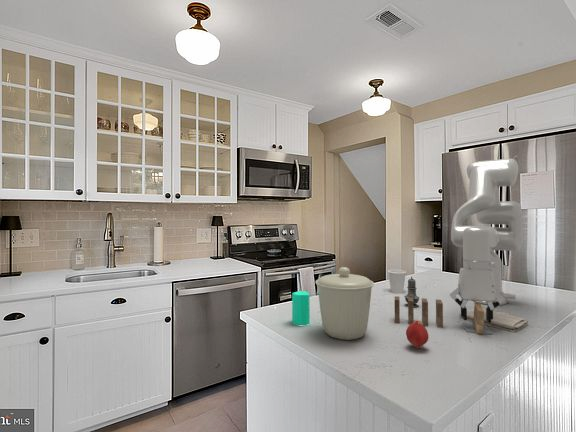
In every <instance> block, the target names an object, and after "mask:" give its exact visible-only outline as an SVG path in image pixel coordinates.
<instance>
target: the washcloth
mask: <svg viewBox="0 0 576 432" xmlns="http://www.w3.org/2000/svg"><path fill="white" fill-rule="evenodd" d="M483 310H484V322H483V325H486V326H487V327H488V326H489V327H492V328H495V329H500V330H503V331H507V332H511V333H515V332H518V331H521V330H522V329H523V328H526V327H527V326H528V324H529V323H528V320H525V318H523V317H518V316H516V315H515V316H514V315H512V314H510V313H507V312H499V311H496V310H493V320H492V319H491V323H489V322H488V321H487V320H486V308H483ZM458 317H459V319H460V320H464V319H463V317H461V313H460V314H459V316H458ZM467 320H468V321H469V322H471V323H473V322H474V307H472V308H470V309H469V310H467ZM467 320H466V321H467Z"/></svg>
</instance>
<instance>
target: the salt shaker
mask: <svg viewBox="0 0 576 432" xmlns="http://www.w3.org/2000/svg"><path fill="white" fill-rule="evenodd" d="M416 282H417V281H416V280H415V279H414V278H413V276H411V277H410V278H409V279H408V280H407V294H406V295H404V296H403V297H404V300H405V302H406V303H405V304H404V306H405V307H406V308H408V297H411V298H413V307H414V308H416V309H417V308H419V305H418V303H419V301H420V296H417V292H416V291H417V286H416V285H417V284H416Z"/></svg>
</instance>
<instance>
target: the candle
mask: <svg viewBox="0 0 576 432" xmlns="http://www.w3.org/2000/svg"><path fill="white" fill-rule="evenodd" d="M291 297H292V298H291V302H292V303H291V304H292V306H291V310H292V311H291V312H292V313H291V314H292V315H291V317H292V318H291V319H292V321H291V322H292V325H293V324H295V325H294V326H296V325H306V326H308V325H307V324H309V325H310V323H311V316H310V315H311V313H310V311H311V310H310V293H309V292H308V291H305V290H303V291H302V290H299V291H295V292H292V293H291Z"/></svg>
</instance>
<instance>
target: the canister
mask: <svg viewBox="0 0 576 432" xmlns="http://www.w3.org/2000/svg"><path fill="white" fill-rule="evenodd" d="M315 284H316V286H317V294H318V300H319V302H318V303H319V309H320V316H321V323H322V328H323V331H324V332H325V333H326V334H327V336H329V337H331V338H333V339H337V340H343V341H344V340H346V341H347V340H348V341H349V340H350V341H351V340H358V339H361V338H362V337H363V336H365V334H366V333H367V329H368V324H369V317H370V316H369V315H370V308H371V307H370V306H371V297H372V289H373V288H372V287H374V285H375V283H374V281H373V280H370V279H369V278H368V277H366V276H363V275H360V274H353V273H351V270H350V268H348V267H346V266H342V267H340V268H339V269H338V273H334V274H333V273H331V274H326V275H322V276H321V277H320V278H318V279H316V280H315Z"/></svg>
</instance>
